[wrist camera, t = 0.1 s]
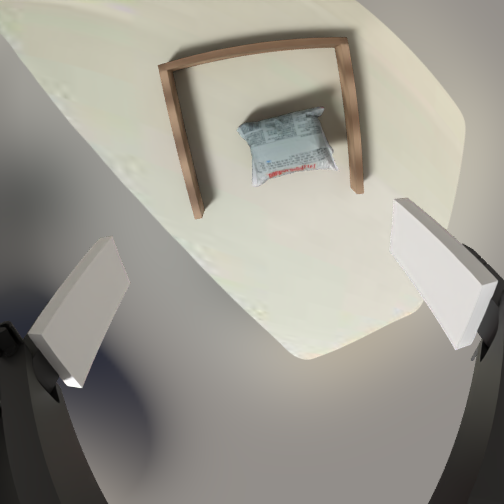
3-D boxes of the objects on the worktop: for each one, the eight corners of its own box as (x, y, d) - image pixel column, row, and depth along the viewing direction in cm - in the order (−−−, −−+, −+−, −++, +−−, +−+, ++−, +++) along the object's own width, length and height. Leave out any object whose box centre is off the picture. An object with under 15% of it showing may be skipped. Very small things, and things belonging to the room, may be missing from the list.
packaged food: (338, 167, 37) (339, 175, 33) (255, 183, 41) (246, 192, 37) (323, 105, 34) (323, 104, 29) (238, 125, 38) (227, 127, 33)
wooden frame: (164, 67, 32) (157, 65, 29) (340, 40, 30) (347, 37, 28) (198, 211, 43) (195, 219, 40) (356, 186, 41) (363, 193, 39)
